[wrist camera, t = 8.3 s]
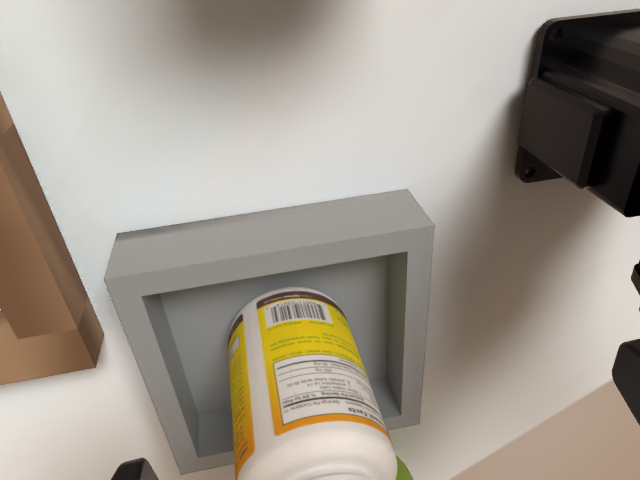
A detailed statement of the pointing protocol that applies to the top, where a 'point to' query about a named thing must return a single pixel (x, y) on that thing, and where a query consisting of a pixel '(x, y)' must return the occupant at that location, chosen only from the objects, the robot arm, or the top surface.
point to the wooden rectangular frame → (37, 278)
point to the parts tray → (260, 277)
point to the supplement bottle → (302, 393)
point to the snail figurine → (402, 471)
